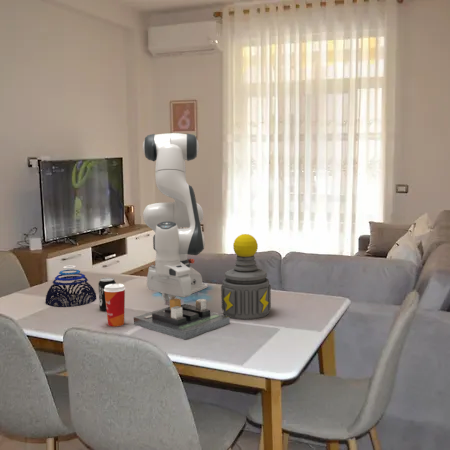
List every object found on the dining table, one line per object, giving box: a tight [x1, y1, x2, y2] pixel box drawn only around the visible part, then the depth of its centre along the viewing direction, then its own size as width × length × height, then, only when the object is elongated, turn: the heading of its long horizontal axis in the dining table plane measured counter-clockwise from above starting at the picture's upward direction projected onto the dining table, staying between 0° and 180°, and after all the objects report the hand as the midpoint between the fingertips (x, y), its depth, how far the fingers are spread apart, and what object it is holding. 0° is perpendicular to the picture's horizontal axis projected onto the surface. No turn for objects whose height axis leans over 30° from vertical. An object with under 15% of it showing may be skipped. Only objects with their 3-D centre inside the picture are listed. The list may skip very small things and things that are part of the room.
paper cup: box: [104, 283, 126, 328], centre depth 199 cm, size 8×8×14 cm
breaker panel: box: [133, 298, 231, 340], centre depth 198 cm, size 22×26×8 cm
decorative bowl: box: [45, 265, 97, 308], centre depth 232 cm, size 20×20×14 cm
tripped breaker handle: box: [169, 297, 182, 310], centre depth 200 cm, size 3×2×4 cm
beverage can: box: [98, 277, 117, 312], centre depth 218 cm, size 7×7×12 cm
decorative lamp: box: [220, 233, 272, 320], centre depth 209 cm, size 19×19×30 cm
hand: (169, 305), depth 202 cm, fingers closed
